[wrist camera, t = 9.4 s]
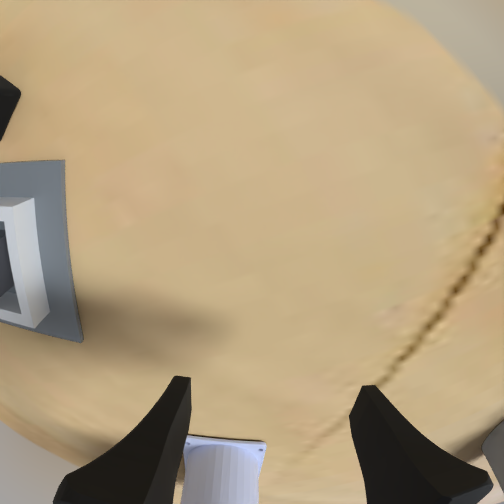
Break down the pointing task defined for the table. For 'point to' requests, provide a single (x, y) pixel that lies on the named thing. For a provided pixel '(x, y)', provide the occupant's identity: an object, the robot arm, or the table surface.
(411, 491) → the robot arm
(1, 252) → the block
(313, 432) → the table surface
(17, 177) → the end holder
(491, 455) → the coffee mug
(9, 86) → the battery
